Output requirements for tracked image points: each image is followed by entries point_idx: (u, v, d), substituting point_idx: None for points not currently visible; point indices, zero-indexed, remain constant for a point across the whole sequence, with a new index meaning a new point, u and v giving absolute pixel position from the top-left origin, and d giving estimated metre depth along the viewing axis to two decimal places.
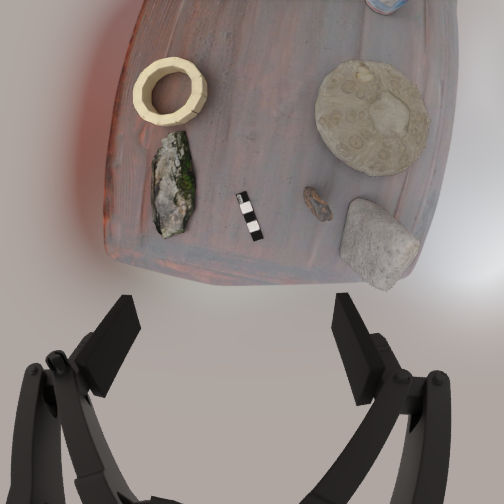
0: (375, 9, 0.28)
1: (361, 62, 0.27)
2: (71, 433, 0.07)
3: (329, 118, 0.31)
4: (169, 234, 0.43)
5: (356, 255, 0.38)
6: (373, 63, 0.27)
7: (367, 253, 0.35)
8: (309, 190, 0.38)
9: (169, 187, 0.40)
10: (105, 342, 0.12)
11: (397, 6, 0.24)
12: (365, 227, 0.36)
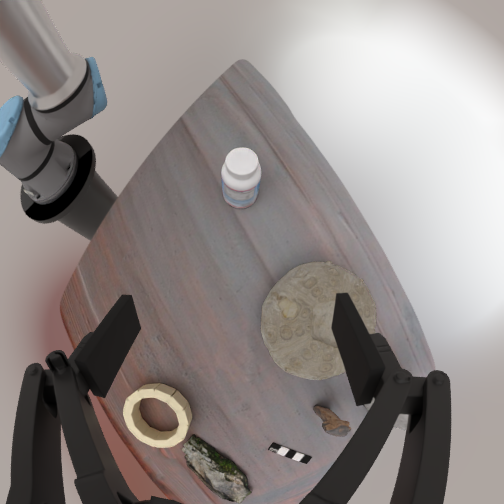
0: (243, 207, 0.46)
1: (277, 296, 0.37)
2: (71, 433, 0.07)
3: (291, 366, 0.35)
4: (242, 499, 0.33)
5: None
6: (286, 286, 0.37)
7: None
8: (318, 412, 0.37)
9: (216, 475, 0.34)
10: (105, 342, 0.12)
11: (257, 189, 0.43)
12: None
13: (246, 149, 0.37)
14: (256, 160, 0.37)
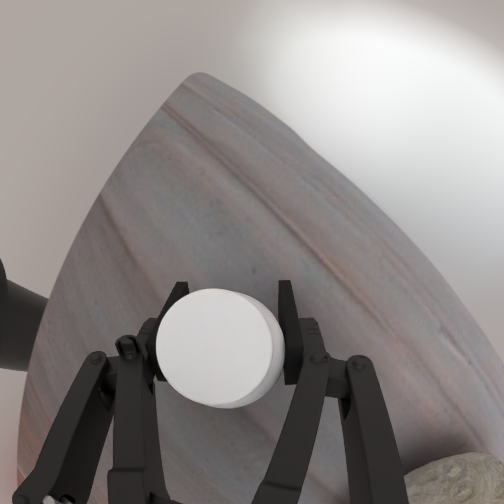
0: None
1: None
2: (122, 423, 0.08)
3: None
4: None
5: None
6: None
7: None
8: None
9: None
10: None
11: None
12: None
13: (219, 293, 0.11)
14: (264, 335, 0.10)
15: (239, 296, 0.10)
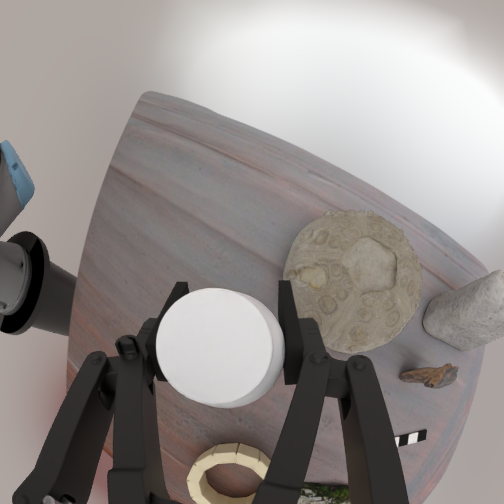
0: None
1: (294, 271, 0.29)
2: (122, 423, 0.08)
3: (355, 341, 0.26)
4: None
5: (481, 339, 0.24)
6: (298, 256, 0.30)
7: (488, 328, 0.23)
8: (409, 377, 0.27)
9: None
10: None
11: None
12: (463, 324, 0.26)
13: (219, 292, 0.11)
14: (264, 335, 0.10)
15: (239, 295, 0.10)
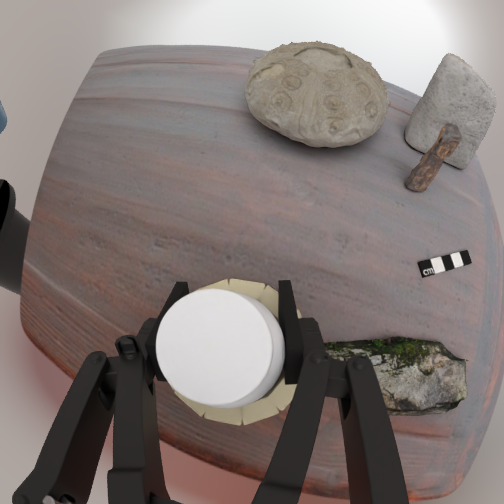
0: None
1: (253, 77, 0.26)
2: (122, 423, 0.08)
3: (334, 113, 0.23)
4: (465, 385, 0.18)
5: (471, 131, 0.23)
6: (254, 69, 0.26)
7: (469, 111, 0.21)
8: (416, 171, 0.25)
9: (410, 378, 0.18)
10: None
11: None
12: (443, 115, 0.24)
13: (218, 292, 0.11)
14: (264, 336, 0.10)
15: (239, 296, 0.10)
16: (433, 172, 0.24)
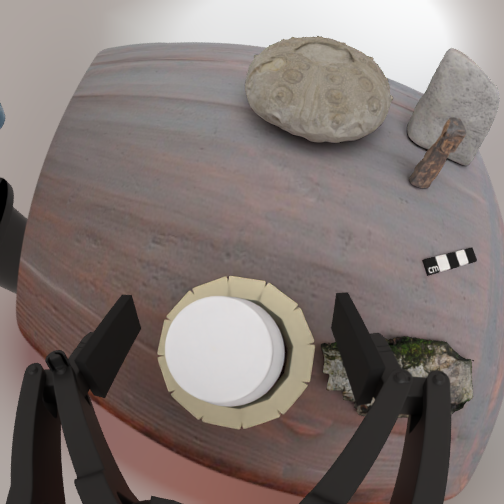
0: None
1: (253, 71, 0.25)
2: (71, 433, 0.07)
3: (336, 106, 0.22)
4: (471, 385, 0.17)
5: (474, 126, 0.22)
6: (254, 63, 0.25)
7: (473, 106, 0.20)
8: (420, 167, 0.24)
9: None
10: (105, 342, 0.12)
11: None
12: (447, 111, 0.23)
13: (223, 300, 0.11)
14: (265, 340, 0.11)
15: (242, 303, 0.11)
16: (437, 168, 0.23)
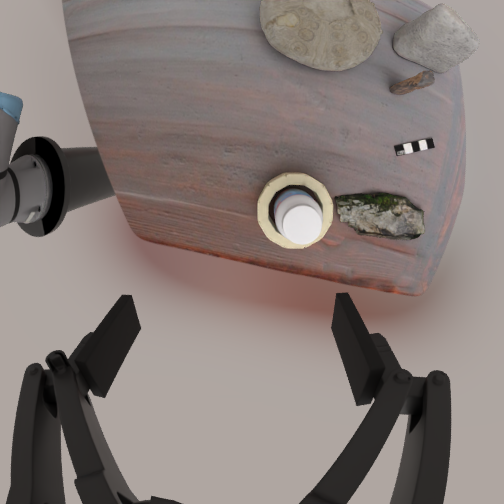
0: None
1: (270, 22, 0.26)
2: (71, 433, 0.07)
3: (339, 57, 0.27)
4: (422, 225, 0.39)
5: (449, 58, 0.24)
6: (269, 12, 0.25)
7: (451, 48, 0.22)
8: (397, 87, 0.31)
9: (387, 217, 0.39)
10: (105, 342, 0.12)
11: None
12: (427, 45, 0.24)
13: (302, 207, 0.30)
14: (319, 219, 0.30)
15: (309, 207, 0.30)
16: (410, 90, 0.30)
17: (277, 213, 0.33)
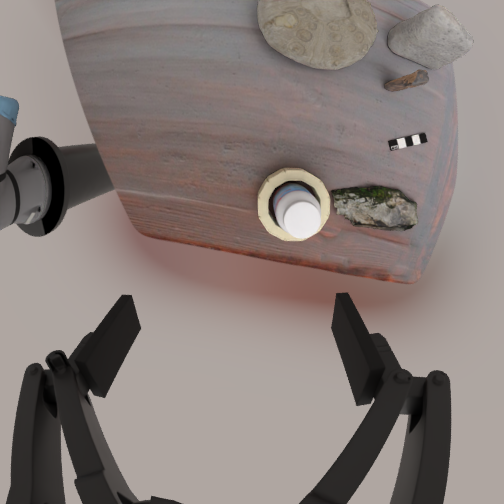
0: None
1: (269, 22, 0.26)
2: (71, 433, 0.07)
3: (336, 56, 0.28)
4: (416, 217, 0.42)
5: (443, 57, 0.25)
6: (267, 12, 0.25)
7: (445, 47, 0.23)
8: (392, 85, 0.32)
9: (381, 210, 0.41)
10: (105, 342, 0.12)
11: None
12: (422, 44, 0.25)
13: (302, 203, 0.32)
14: (318, 214, 0.32)
15: (309, 203, 0.32)
16: (404, 88, 0.31)
17: (278, 209, 0.35)
